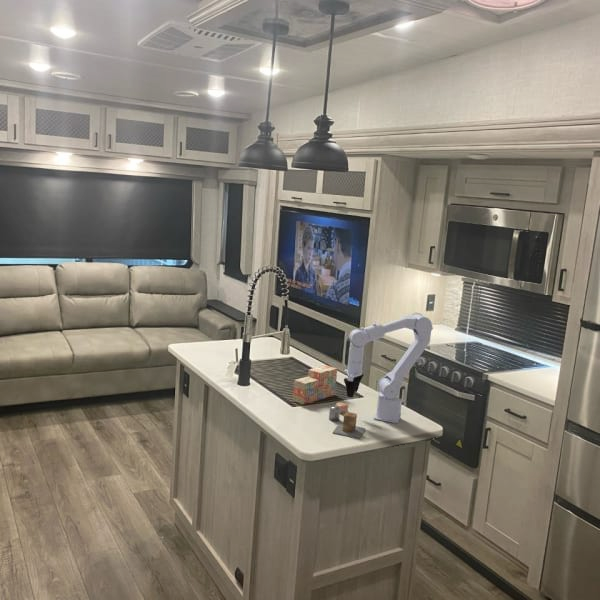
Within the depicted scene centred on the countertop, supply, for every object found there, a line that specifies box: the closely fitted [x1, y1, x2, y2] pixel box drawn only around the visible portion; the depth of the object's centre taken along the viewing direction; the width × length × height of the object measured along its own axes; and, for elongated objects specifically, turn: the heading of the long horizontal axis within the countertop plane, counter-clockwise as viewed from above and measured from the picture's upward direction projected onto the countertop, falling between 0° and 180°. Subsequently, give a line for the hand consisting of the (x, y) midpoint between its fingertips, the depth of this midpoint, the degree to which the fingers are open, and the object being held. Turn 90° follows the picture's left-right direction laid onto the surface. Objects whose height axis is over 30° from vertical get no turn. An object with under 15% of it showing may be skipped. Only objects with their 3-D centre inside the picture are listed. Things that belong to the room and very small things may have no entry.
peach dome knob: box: [335, 402, 349, 415], centre depth 242 cm, size 5×5×3 cm
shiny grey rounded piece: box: [328, 405, 341, 423], centre depth 232 cm, size 4×4×5 cm
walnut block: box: [342, 411, 358, 433], centre depth 221 cm, size 4×4×6 cm
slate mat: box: [332, 422, 366, 439], centre depth 222 cm, size 10×10×1 cm
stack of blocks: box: [292, 364, 338, 405], centre depth 255 cm, size 21×6×12 cm, turn 139°
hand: (352, 394), depth 235 cm, fingers open, 7 cm apart
